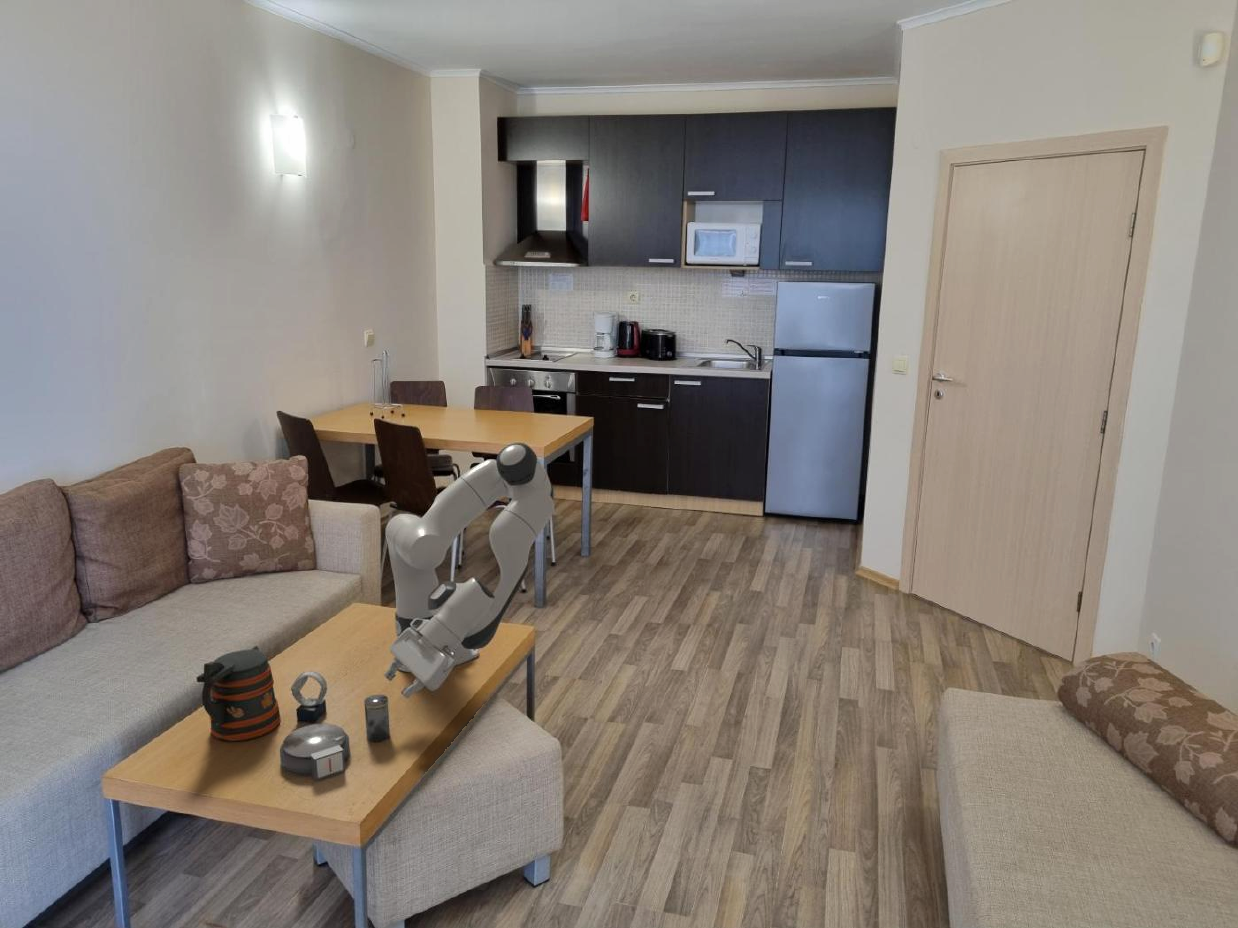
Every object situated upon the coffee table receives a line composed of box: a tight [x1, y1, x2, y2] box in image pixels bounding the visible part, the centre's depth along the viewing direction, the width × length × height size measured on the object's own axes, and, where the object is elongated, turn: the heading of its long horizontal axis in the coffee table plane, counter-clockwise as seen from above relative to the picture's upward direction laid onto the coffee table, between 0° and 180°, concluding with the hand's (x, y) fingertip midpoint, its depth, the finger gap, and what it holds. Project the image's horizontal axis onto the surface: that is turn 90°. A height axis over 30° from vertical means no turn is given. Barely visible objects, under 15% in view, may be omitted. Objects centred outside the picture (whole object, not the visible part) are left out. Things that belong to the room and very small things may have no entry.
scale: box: [279, 732, 351, 782], centre depth 186 cm, size 14×16×5 cm
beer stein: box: [196, 645, 282, 742], centre depth 196 cm, size 19×15×20 cm
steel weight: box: [363, 694, 391, 744], centre depth 195 cm, size 5×5×9 cm
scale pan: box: [282, 723, 346, 758], centre depth 187 cm, size 13×13×1 cm
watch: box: [290, 670, 328, 724], centre depth 203 cm, size 6×8×11 cm
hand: (395, 686), depth 196 cm, fingers open, 8 cm apart
